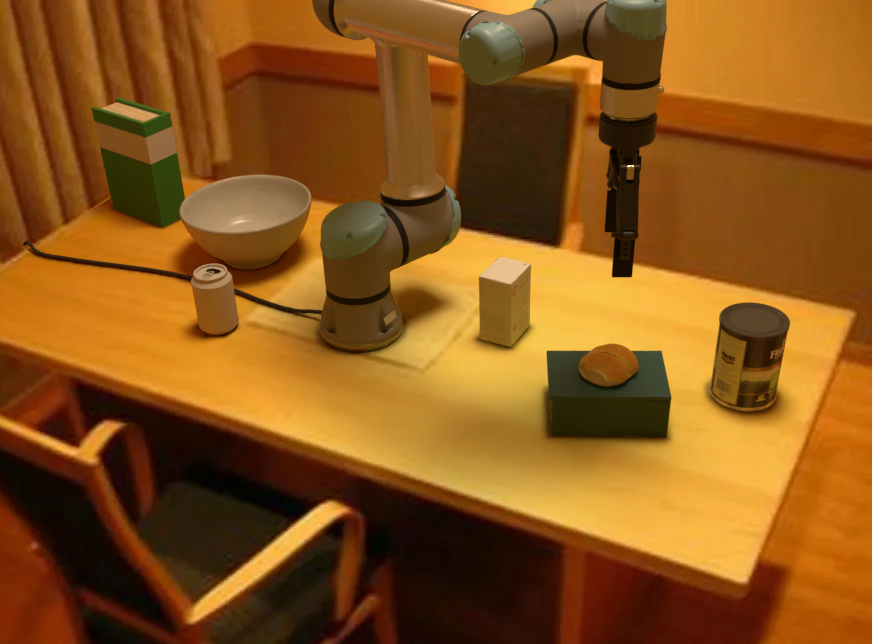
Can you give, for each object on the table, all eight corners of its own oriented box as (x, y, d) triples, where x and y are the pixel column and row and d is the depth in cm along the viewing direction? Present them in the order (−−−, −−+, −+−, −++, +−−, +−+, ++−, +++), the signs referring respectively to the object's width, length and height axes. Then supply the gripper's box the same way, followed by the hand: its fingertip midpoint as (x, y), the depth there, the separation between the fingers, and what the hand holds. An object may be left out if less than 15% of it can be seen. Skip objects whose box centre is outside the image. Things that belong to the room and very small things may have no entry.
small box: (498, 318, 198) (499, 255, 190) (530, 326, 194) (532, 262, 187) (478, 339, 192) (477, 275, 185) (510, 348, 189) (511, 283, 182)
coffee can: (783, 384, 175) (797, 310, 167) (766, 418, 168) (780, 343, 160) (719, 368, 180) (730, 295, 172) (700, 401, 173) (710, 327, 165)
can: (246, 320, 203) (238, 264, 196) (226, 340, 198) (217, 283, 191) (212, 313, 206) (203, 258, 199) (192, 333, 201) (181, 277, 194)
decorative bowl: (162, 264, 224) (151, 211, 217) (252, 215, 240) (245, 164, 233) (253, 300, 209) (244, 245, 202) (343, 245, 225) (338, 192, 218)
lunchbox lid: (549, 400, 164) (549, 396, 164) (546, 354, 175) (546, 350, 174) (671, 401, 162) (671, 396, 162) (661, 354, 172) (661, 350, 172)
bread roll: (646, 367, 168) (648, 346, 166) (614, 394, 163) (616, 372, 161) (601, 350, 173) (602, 328, 171) (569, 375, 168) (570, 353, 166)
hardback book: (113, 208, 248) (91, 108, 234) (138, 196, 252) (118, 97, 239) (162, 227, 238) (143, 124, 224) (188, 215, 242) (170, 112, 228)
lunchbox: (550, 435, 168) (552, 400, 164) (548, 388, 178) (549, 354, 175) (666, 437, 166) (671, 401, 162) (657, 389, 176) (661, 355, 172)
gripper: (669, 148, 133) (654, 296, 145) (647, 78, 153) (635, 213, 165) (607, 149, 134) (597, 297, 146) (593, 79, 154) (586, 214, 166)
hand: (617, 253), depth 156 cm, fingers open, 13 cm apart
